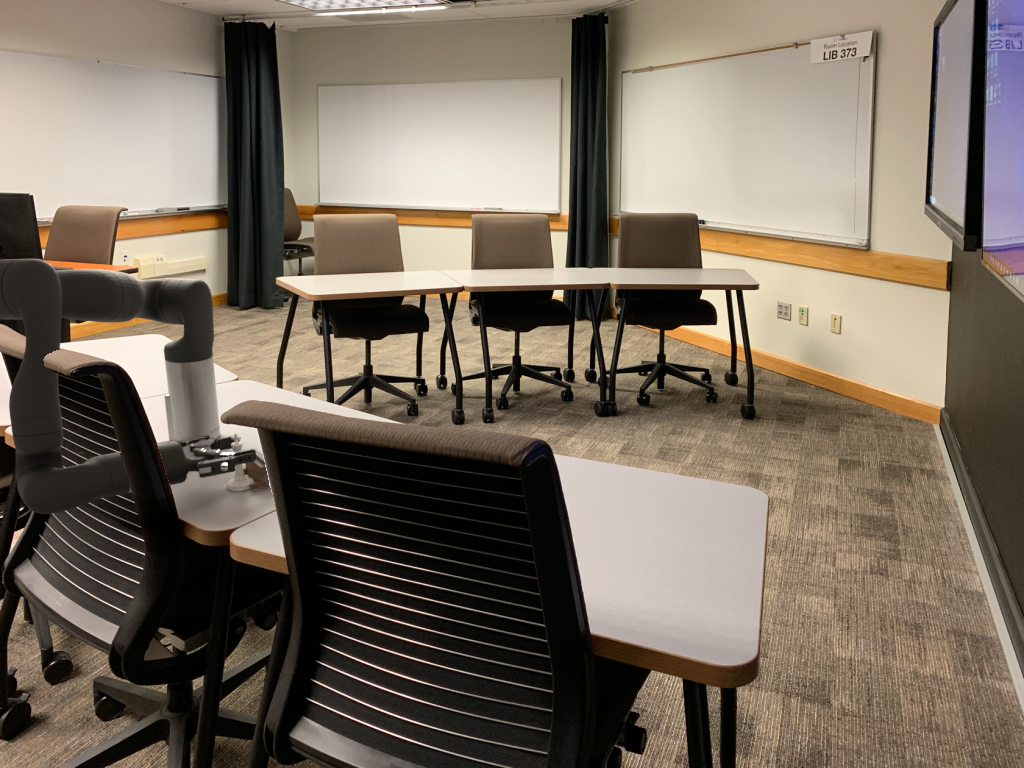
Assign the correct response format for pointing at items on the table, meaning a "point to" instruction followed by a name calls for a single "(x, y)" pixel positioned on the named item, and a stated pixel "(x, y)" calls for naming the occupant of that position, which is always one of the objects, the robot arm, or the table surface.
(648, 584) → the table surface
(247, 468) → the sliding block
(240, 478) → the chess piece
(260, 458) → the backstop wall
